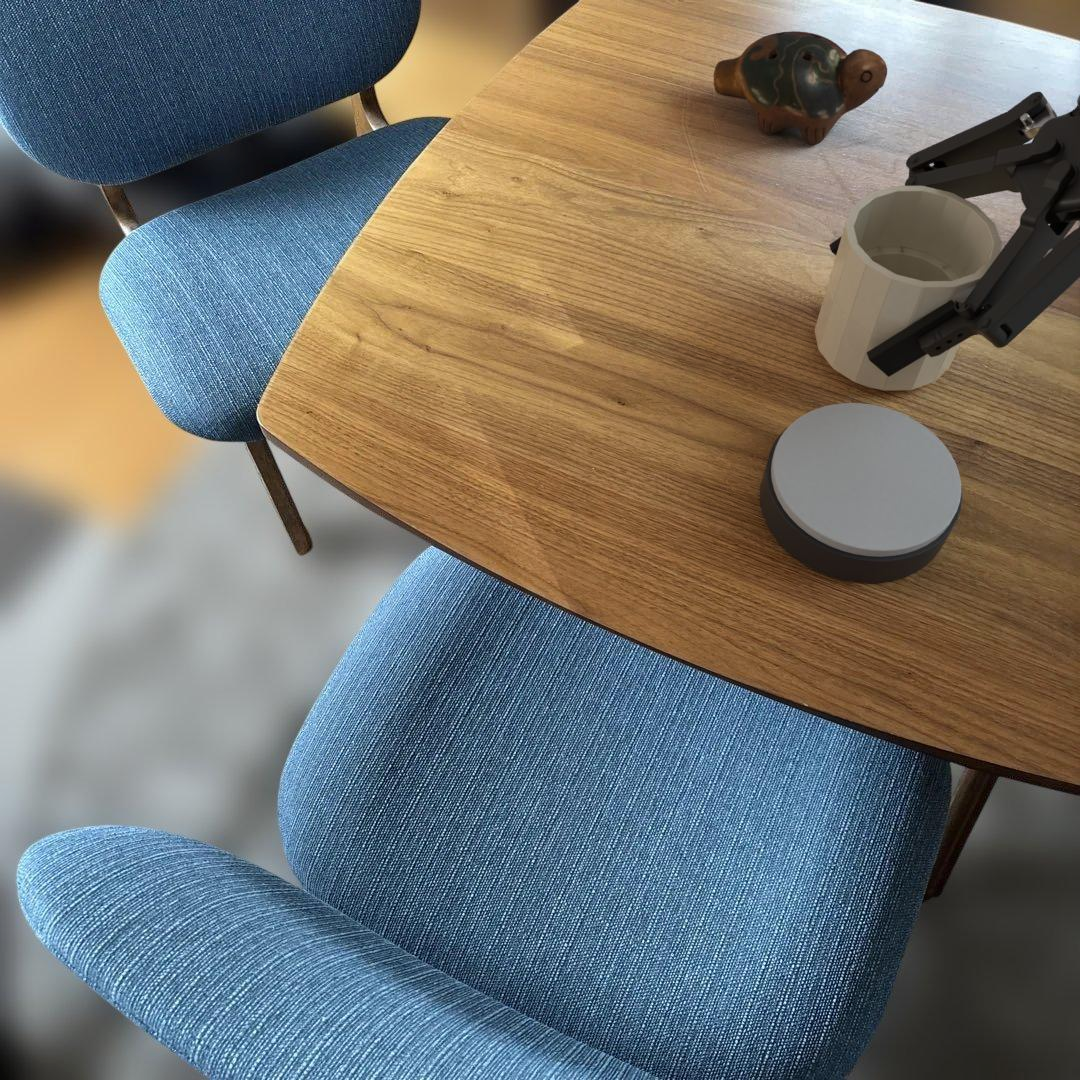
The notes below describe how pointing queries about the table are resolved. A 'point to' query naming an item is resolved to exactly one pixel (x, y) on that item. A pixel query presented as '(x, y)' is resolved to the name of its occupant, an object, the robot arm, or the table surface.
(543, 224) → the table surface
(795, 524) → the scale
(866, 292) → the faceted beige cup
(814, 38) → the decorative turtle
